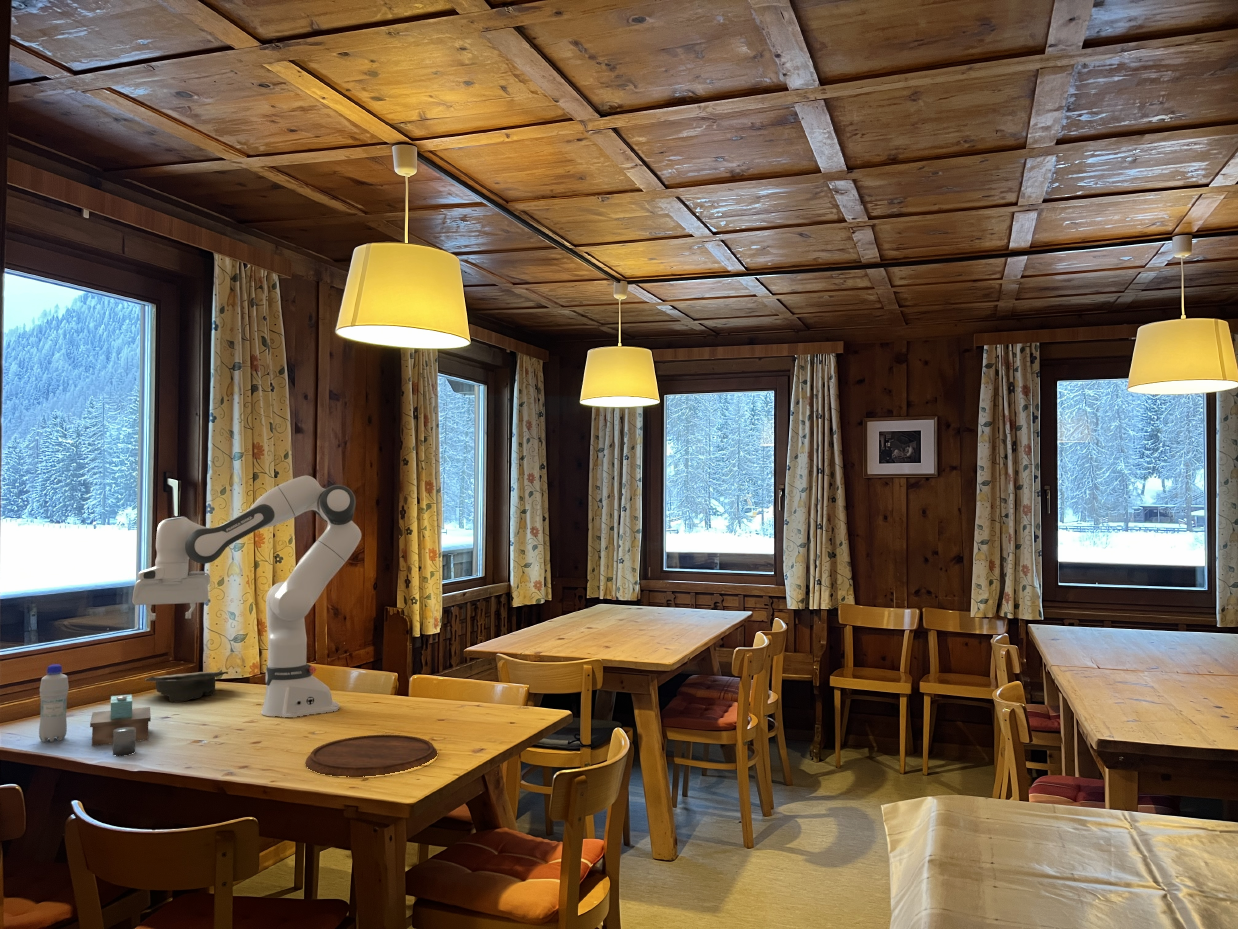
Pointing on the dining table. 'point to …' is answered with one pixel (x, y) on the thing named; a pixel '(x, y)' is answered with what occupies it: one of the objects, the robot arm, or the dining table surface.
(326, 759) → the cutting board
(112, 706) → the block
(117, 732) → the tin
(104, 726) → the stand
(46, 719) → the bottle
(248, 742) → the dining table surface
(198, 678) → the stone bowl
